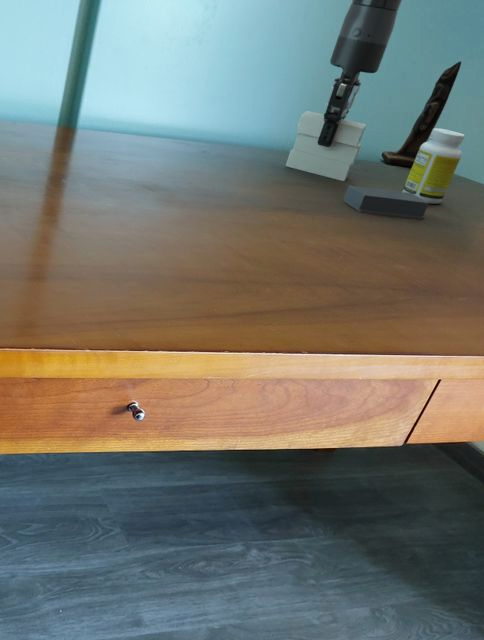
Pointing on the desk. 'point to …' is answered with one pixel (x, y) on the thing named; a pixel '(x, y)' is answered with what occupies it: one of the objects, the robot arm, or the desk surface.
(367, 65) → the robot arm
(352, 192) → the dark gray block
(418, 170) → the pill bottle
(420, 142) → the statue
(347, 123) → the white block
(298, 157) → the white stack
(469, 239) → the desk surface
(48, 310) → the desk surface
